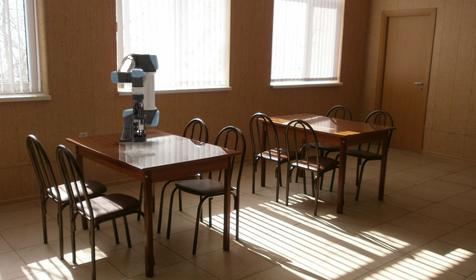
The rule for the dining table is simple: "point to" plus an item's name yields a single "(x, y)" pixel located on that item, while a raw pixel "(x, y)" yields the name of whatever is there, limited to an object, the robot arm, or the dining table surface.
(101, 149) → the dining table surface
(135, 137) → the french press
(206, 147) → the dining table surface
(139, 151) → the ceramic tile
